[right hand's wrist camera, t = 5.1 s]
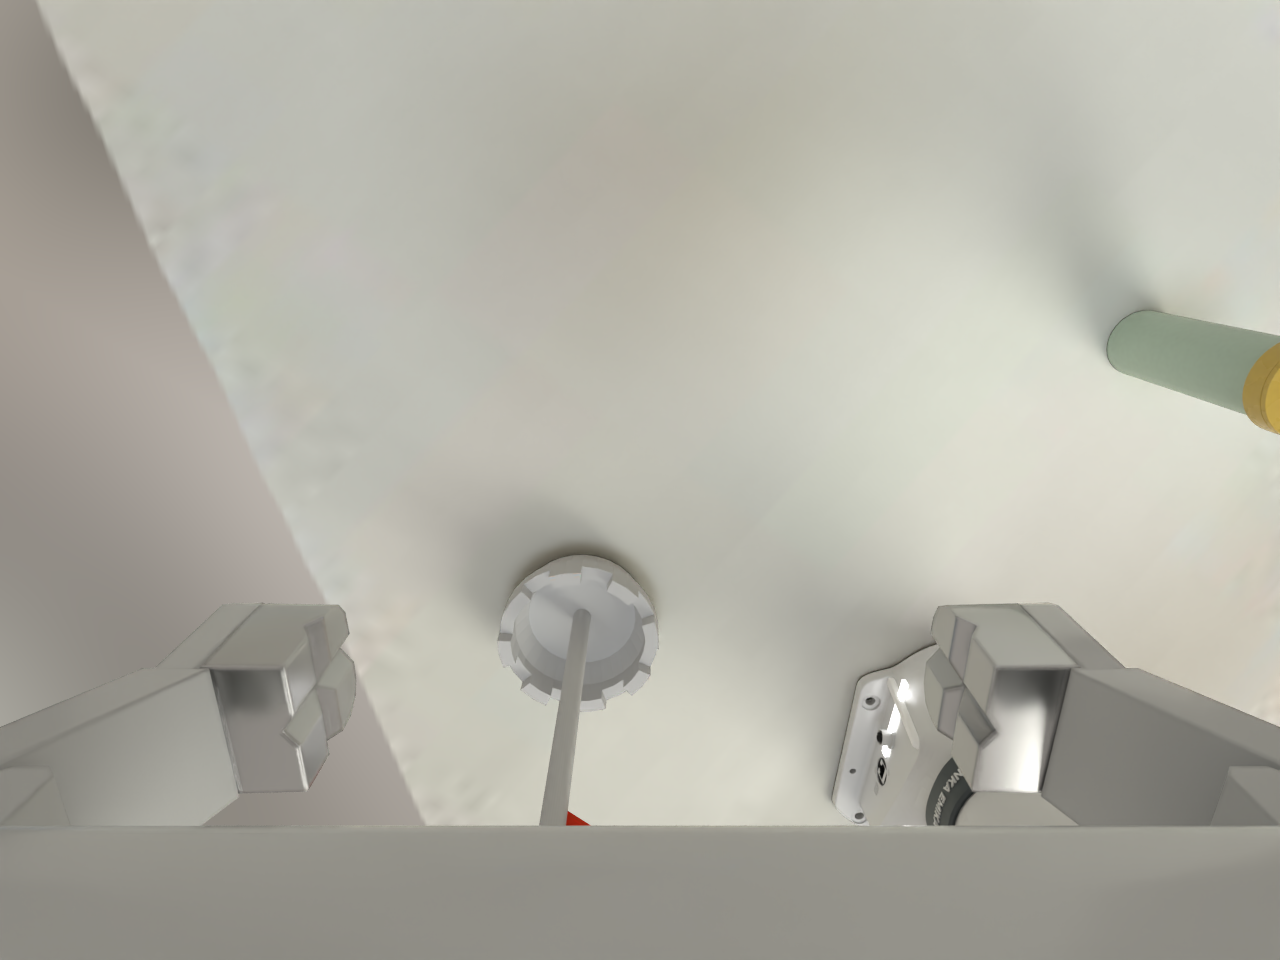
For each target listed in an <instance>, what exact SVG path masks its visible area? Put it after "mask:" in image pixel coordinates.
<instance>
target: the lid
mask: <svg viewBox="0 0 1280 960" xmlns="http://www.w3.org/2000/svg"><path fill="white" fill-rule="evenodd" d="M1242 401H1243V407H1244V410H1245V412H1246V414H1247V416H1248V417H1249V419H1250V420H1251V421H1252V422H1253V423H1254V424H1255V425H1257V426H1258V427H1260V428H1262V429H1265V430H1267V431H1270V432H1273V433H1276V434H1279V435H1280V342H1279V343H1277V344H1276V345H1274V346H1273V347H1271V348H1270V349H1269V350H1267V351H1266V352H1265V353H1264V354H1263V355H1262V356H1261V357H1260V358H1259V359H1258V360H1257V361H1256V362H1255V364H1254V365H1253V367H1252V368H1251V370H1250V372H1249V373H1248V375H1247V378H1246V380H1245V383H1244V387H1243V393H1242Z"/></svg>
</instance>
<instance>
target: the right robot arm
mask: <svg viewBox="0 0 1280 960" xmlns="http://www.w3.org/2000/svg"><path fill="white" fill-rule="evenodd" d="M348 635H349V629H348V624H347V619H346V613H345V611H344V610H343V609H342V608H341V607H340V606H339V605H321V604H265V603H233V604H225V605H222V606H221V607H220V608H219V609H217V610H216V611H215V612H214V613H213V614H212V615H211V616H210V617H209V618H208V619H207V620H206V621H205V622H203V623H202V624H201V625H200V626H199V627H198V628H197V629H196V630H195V631H194V632H193V633H192V634H191V635H189V636H188V637H187V638H186V639H185V640H184V641H183V642H182V643H181V644H180V645H179V646H178V647H177V648H176V649H174V650H173V651H172V652H171V653H170V654H169V655H168V656H167V657H166V658H165V659H164V660H163V661H162V662H160V663H159V664H158V665H157V666H156V667H155V668H142V669H139V670H137V671H134V672H132V673H130V674H127V675H125V676H122V677H120V678H117V679H115V680H113V681H110V682H108V683H105V684H103V685H101V686H98V687H96V688H93V689H91V690H88V691H86V692H84V693H81V694H79V695H76V696H74V697H72V698H69V699H67V700H65V701H62V702H60V703H57V704H55V705H52V706H50V707H47V708H45V709H43V710H40V711H38V712H35V713H33V714H31V715H28V716H26V717H23V718H21V719H19V720H16V721H14V722H11V723H9V724H6V725H4V726H2V727H0V960H1280V727H1278V726H1276V725H1273V724H1271V723H1268V722H1266V721H1264V720H1261V719H1259V718H1256V717H1254V716H1252V715H1249V714H1247V713H1244V712H1242V711H1240V710H1237V709H1235V708H1232V707H1230V706H1227V705H1225V704H1223V703H1220V702H1218V701H1215V700H1213V699H1211V698H1208V697H1206V696H1203V695H1201V694H1199V693H1196V692H1194V691H1191V690H1189V689H1187V688H1184V687H1182V686H1179V685H1177V684H1175V683H1172V682H1170V681H1167V680H1165V679H1163V678H1160V677H1158V676H1155V675H1153V674H1151V673H1148V672H1146V671H1143V670H1141V669H1138V668H1125V667H1124V666H1123V665H1122V664H1121V663H1120V662H1119V661H1117V660H1116V659H1115V658H1114V657H1113V656H1112V655H1111V654H1110V653H1109V652H1108V651H1107V650H1106V649H1105V648H1104V647H1102V646H1101V645H1100V644H1099V643H1098V642H1097V641H1096V640H1095V639H1094V638H1093V637H1092V636H1091V635H1090V634H1089V633H1087V632H1086V631H1085V630H1084V629H1083V628H1082V627H1081V626H1080V625H1079V624H1078V623H1077V622H1076V621H1075V620H1074V619H1072V618H1071V617H1070V616H1069V615H1068V614H1067V613H1066V612H1065V611H1064V610H1063V609H1062V608H1061V607H1060V606H1058V605H1055V604H1052V603H1026V604H1018V603H1017V604H976V605H945V606H938V608H937V610H936V613H935V615H934V617H933V622H932V628H931V635H932V637H933V638H934V640H935V641H936V643H937V644H938V646H939V647H940V648H939V649H938V650H937V651H936V652H935V653H934V654H933V655H932V656H931V657H930V658H929V659H928V660H927V661H926V667H925V675H924V692H925V703H926V706H927V709H928V712H929V716H930V718H931V720H932V722H933V724H934V726H935V727H936V729H937V731H938V732H940V733H942V734H943V735H945V736H946V737H948V738H950V739H951V740H953V743H952V749H951V756H952V757H953V759H954V761H955V763H956V764H957V766H958V768H959V769H960V771H961V773H962V775H963V776H964V778H965V780H966V781H967V783H968V785H969V787H970V788H971V790H972V792H1007V793H1041V797H1042V798H1044V799H1045V800H1046V801H1048V802H1049V803H1050V804H1052V805H1053V806H1054V807H1055V808H1057V809H1058V810H1059V811H1061V812H1062V813H1063V814H1065V815H1066V816H1067V817H1069V818H1070V819H1071V820H1073V821H1074V822H1075V823H1077V824H1078V825H1079V826H201V825H202V824H204V823H205V822H206V821H208V820H209V819H210V818H212V817H213V816H214V815H216V814H217V813H218V812H219V811H221V810H222V809H223V808H225V807H226V806H227V805H229V804H230V803H231V802H233V801H234V800H235V799H237V798H238V797H239V794H238V793H271V792H307V791H308V790H309V788H310V787H311V785H312V783H313V781H314V780H315V778H316V776H317V775H318V773H319V771H320V769H321V768H322V766H323V764H324V763H325V761H326V759H327V757H328V756H329V749H328V743H327V740H329V739H330V738H332V737H334V736H335V735H337V734H338V733H340V732H341V731H343V729H344V727H345V726H346V724H347V722H348V720H349V718H350V716H351V713H352V709H353V704H354V700H355V696H356V673H355V666H354V661H353V660H352V659H351V658H350V657H349V656H348V655H347V654H346V653H345V652H344V651H343V650H342V649H341V648H340V647H341V646H342V644H343V643H344V641H345V640H346V638H347V637H348Z"/></svg>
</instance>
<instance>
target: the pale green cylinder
mask: <svg viewBox="0 0 1280 960" xmlns="http://www.w3.org/2000/svg"><path fill="white" fill-rule="evenodd" d="M1279 342H1280V336H1277V335H1272V334H1267V333H1262V332H1257V331H1252V330H1247V329H1242V328H1237V327H1232V326H1227V325H1222V324H1217V323H1211V322H1206V321H1201V320H1196V319H1191V318H1186V317H1181V316H1176V315H1171V314H1166V313H1161V312H1156V311H1139V312H1136V313H1133V314H1131V315H1129V316H1127V317H1126V318H1124V319H1123V320H1122V321H1121V322H1120V323H1119V324H1118V325H1117V326H1116V327H1115V328H1114V330H1113V331H1112V333H1111V335H1110V337H1109V340H1108V345H1107V355H1108V358H1109V361H1110V363H1111V365H1112V366H1113V367H1114V368H1115V369H1116V370H1118V371H1119V372H1122V373H1124V374H1127V375H1130V376H1133V377H1136V378H1139V379H1142V380H1145V381H1148V382H1151V383H1154V384H1157V385H1160V386H1162V387H1165V388H1168V389H1171V390H1174V391H1177V392H1180V393H1183V394H1186V395H1189V396H1192V397H1195V398H1198V399H1201V400H1204V401H1207V402H1210V403H1213V404H1216V405H1219V406H1222V407H1225V408H1228V409H1230V410H1233V411H1236V412H1239V413H1242V414H1245V415H1247V414H1246V412H1245V410H1244V407H1243V401H1242V393H1243V387H1244V383H1245V380H1246V378H1247V375H1248V373H1249V372H1250V370H1251V368H1252V367H1253V365H1254V364H1255V362H1256V361H1257V360H1258V359H1259V358H1260V357H1261V356H1262V355H1263V354H1264V353H1265V352H1266V351H1267V350H1269V349H1270V348H1271V347H1273V346H1274V345H1276V344H1277V343H1279Z"/></svg>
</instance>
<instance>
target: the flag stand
mask: <svg viewBox="0 0 1280 960" xmlns="http://www.w3.org/2000/svg"><path fill="white" fill-rule="evenodd" d="M497 644H498V652H499V656H500V659H501V662H502V665H503V667H507V666H510V667H511V669H512V670H513V672H514V673H515V674H516V675H517V676H518V677H519V678H520V679H521V681H522V687H521V691H523V692H524V693H525V694H527V695H528V696H529V697H531V698H532V699H534V700H536V701H538V702H540V703H542V704H544V705H546V704H547V703H548V701H549V699H550V698H552V699H555V700H559V708H558V714H557V720H556V726H555V732H554V738H553V744H552V750H551V756H550V763H549V769H548V775H547V781H546V787H545V793H544V799H543V805H542V811H541V818H540V824H539V826H591V825H589V824H588V823H586V822H584V821H583V820H581V819H580V818H578V817H576V816H575V815H573V814H572V813H570V812H569V811H568V804H569V796H570V787H571V779H572V771H573V762H574V754H575V746H576V737H577V729H578V721H579V712H591V711H596V710H601V709H606V700H608V699H610V698H613V697H615V696H618V695H620V694H622V693H624V692H625V691H627V692H628V693H629V694H630V695H633V694H634V693H635V692H637V691H638V690H639V689H640V688H641V687H642V686H643V685H644V683H645V682H646V681H647V679H648V678H649V676H650V667H651V664H652V662H653V660H654V657H655V655H656V651H657V649H659V645H658V621H657V617H656V613H655V609H654V606H653V604H652V603H651V601H650V599H649V597H648V595H647V594H646V592H645V591H644V590H643V589H642V587H641V586H640V585H639V584H638V583H637V582H636V581H635V580H634V579H633V578H632V576H631V575H630V574H629V573H628V572H626V571H625V570H624V569H623V568H622V567H620V566H619V565H617V564H615V563H613V562H611V561H609V560H606V559H603V558H600V557H597V556H590V555H571V556H566V557H562V558H559V559H556V560H554V561H552V562H549V563H548V564H546V565H545V566H543V567H542V568H540V569H538V570H536V571H535V572H533V573H532V574H530V575H529V576H527V577H526V578H525V579H524V580H523V581H522V582H521V583H520V584H519V585H518V586H517V587H516V588H515V590H514V591H513V593H512V594H511V596H510V598H509V599H508V602H507V604H506V607H505V610H504V613H503V616H502V619H501V626H500V634H499V637H498V640H497Z"/></svg>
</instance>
